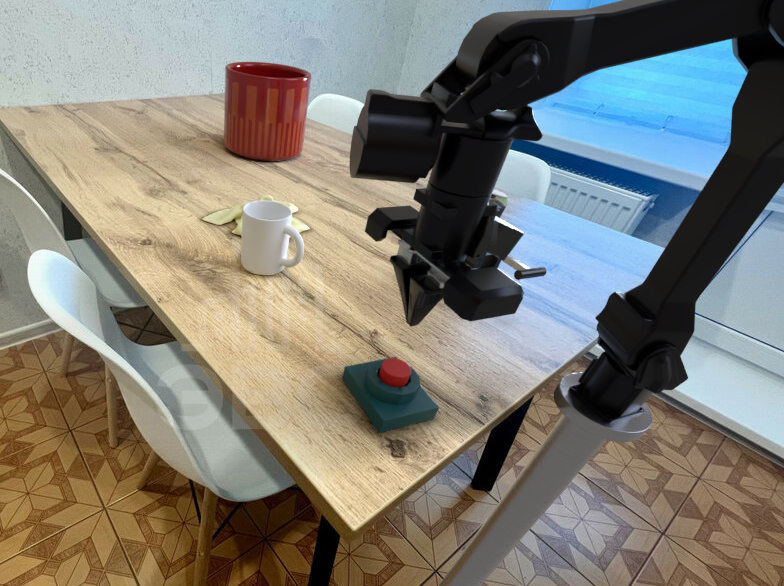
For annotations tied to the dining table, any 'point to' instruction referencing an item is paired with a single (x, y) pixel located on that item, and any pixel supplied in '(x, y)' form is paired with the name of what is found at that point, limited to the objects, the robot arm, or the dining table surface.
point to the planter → (265, 110)
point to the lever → (523, 268)
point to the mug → (268, 238)
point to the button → (395, 372)
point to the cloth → (237, 214)
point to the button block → (389, 397)
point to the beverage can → (499, 201)
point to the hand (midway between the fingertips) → (412, 324)
